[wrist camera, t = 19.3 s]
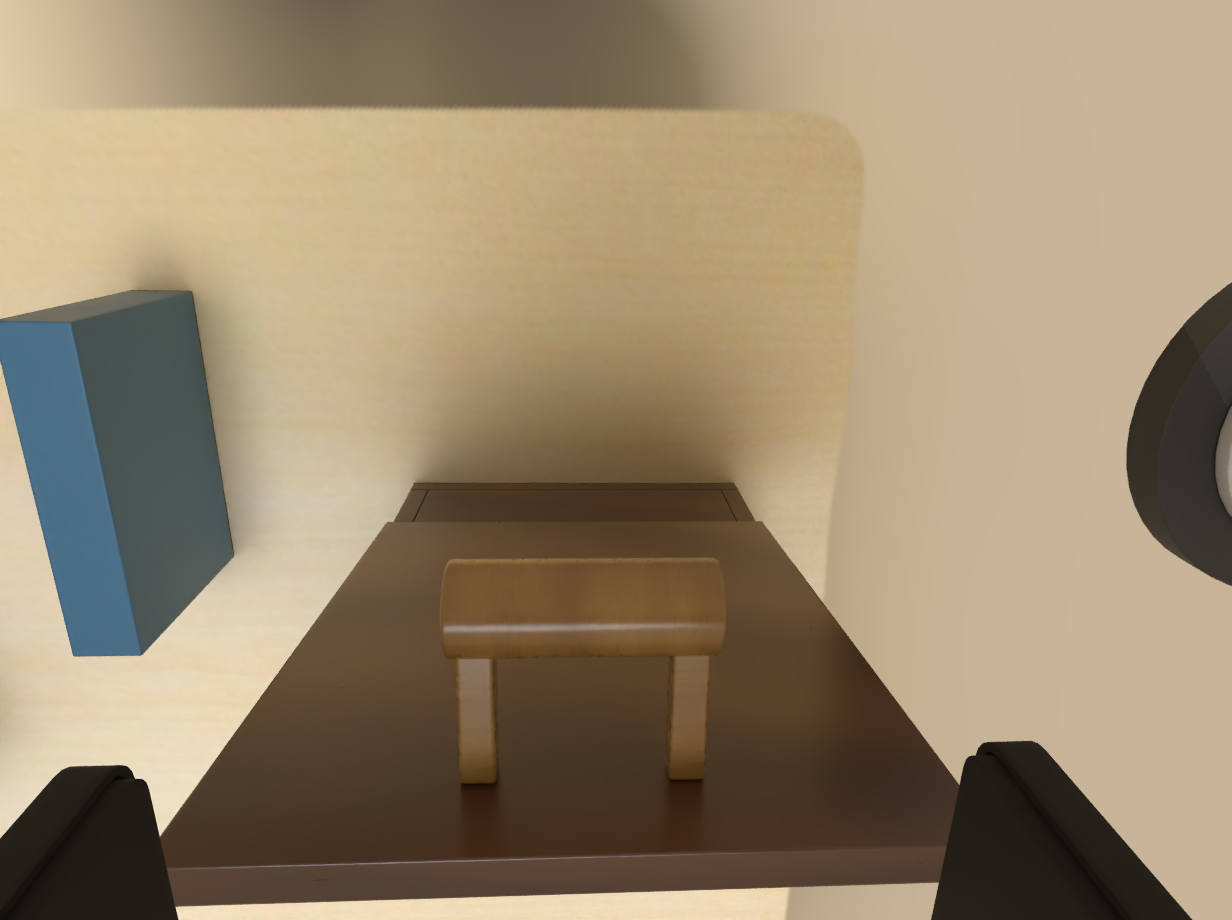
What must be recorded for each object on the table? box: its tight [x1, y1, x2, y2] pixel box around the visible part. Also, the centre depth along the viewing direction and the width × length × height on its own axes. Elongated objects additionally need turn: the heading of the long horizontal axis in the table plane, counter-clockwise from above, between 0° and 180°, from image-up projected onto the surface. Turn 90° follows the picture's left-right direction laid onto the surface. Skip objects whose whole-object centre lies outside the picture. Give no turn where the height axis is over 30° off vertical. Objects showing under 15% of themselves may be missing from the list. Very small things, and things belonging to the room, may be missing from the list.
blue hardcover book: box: [0, 290, 233, 656], centre depth 29 cm, size 12×2×8 cm, turn 179°
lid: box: [160, 521, 960, 907], centre depth 21 cm, size 17×15×5 cm
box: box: [394, 483, 755, 522], centre depth 35 cm, size 17×15×5 cm
